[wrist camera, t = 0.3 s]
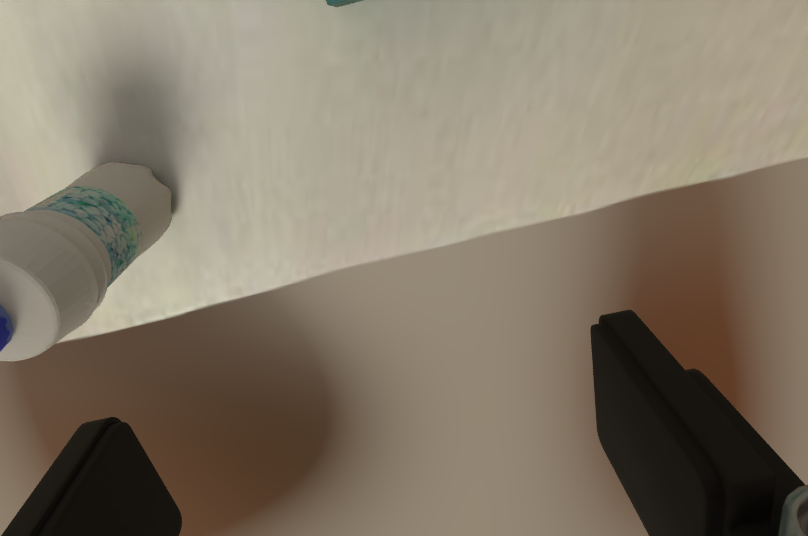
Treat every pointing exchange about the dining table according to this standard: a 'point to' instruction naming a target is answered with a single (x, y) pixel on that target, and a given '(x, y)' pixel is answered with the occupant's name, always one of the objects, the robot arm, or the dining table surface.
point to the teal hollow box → (341, 2)
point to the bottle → (74, 253)
